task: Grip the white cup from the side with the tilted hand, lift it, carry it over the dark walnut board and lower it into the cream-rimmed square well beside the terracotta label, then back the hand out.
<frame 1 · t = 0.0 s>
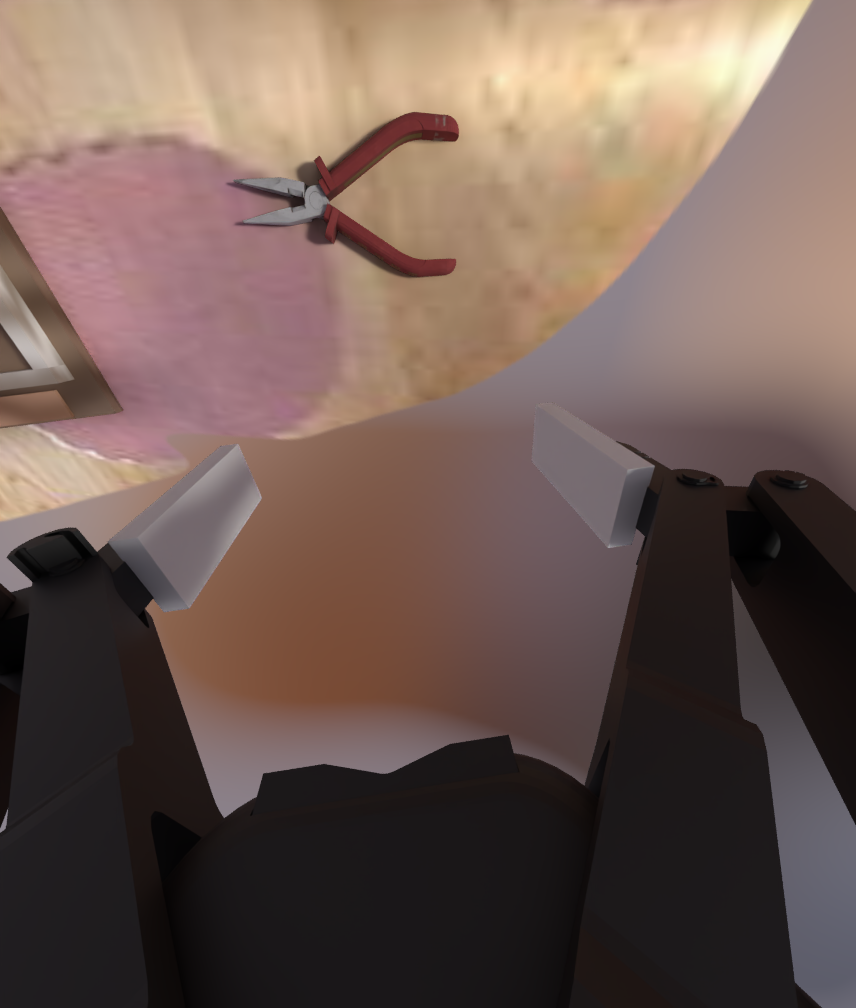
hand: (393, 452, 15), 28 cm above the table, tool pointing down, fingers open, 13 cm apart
pliers: (362, 186, 31), on the table
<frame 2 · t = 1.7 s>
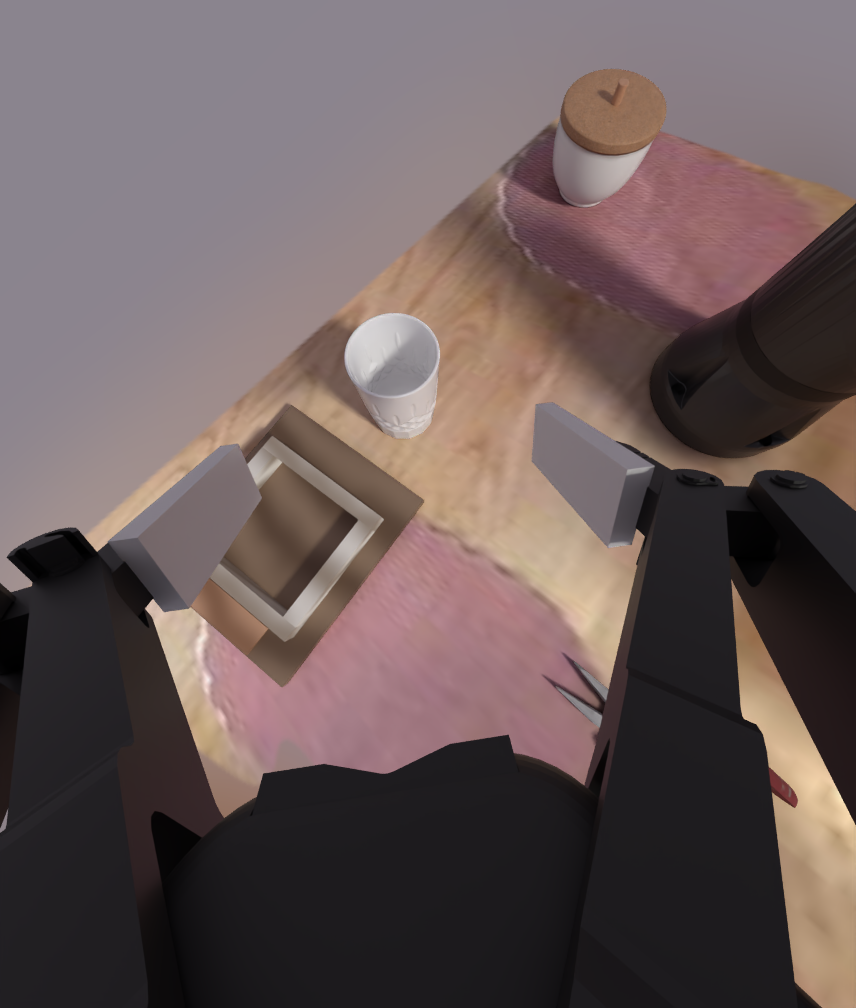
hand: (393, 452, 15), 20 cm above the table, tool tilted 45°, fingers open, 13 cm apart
pliers: (666, 743, 30), on the table
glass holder: (292, 535, 34), on the table
white cup: (404, 412, 37), on the table
lidded jar: (582, 190, 42), on the table
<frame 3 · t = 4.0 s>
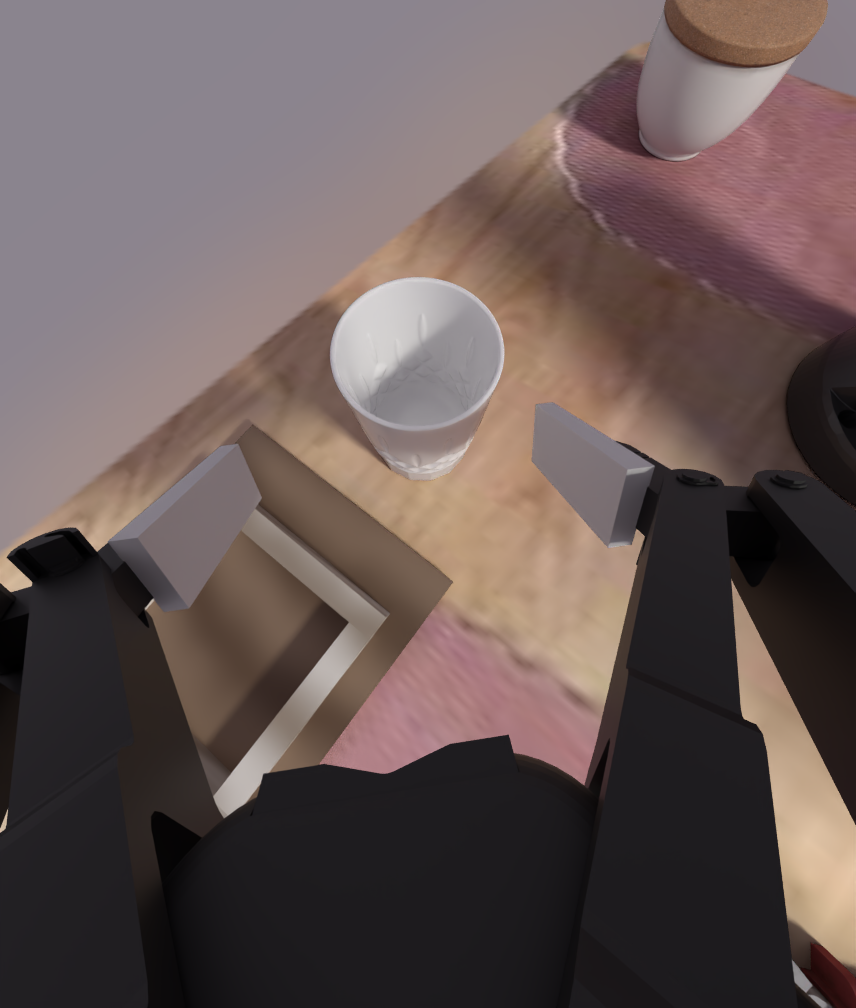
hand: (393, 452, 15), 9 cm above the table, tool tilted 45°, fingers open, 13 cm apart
pliers: (848, 1007, 18), on the table
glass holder: (244, 630, 22), on the table
white cup: (422, 439, 25), on the table
lidded jar: (669, 139, 31), on the table
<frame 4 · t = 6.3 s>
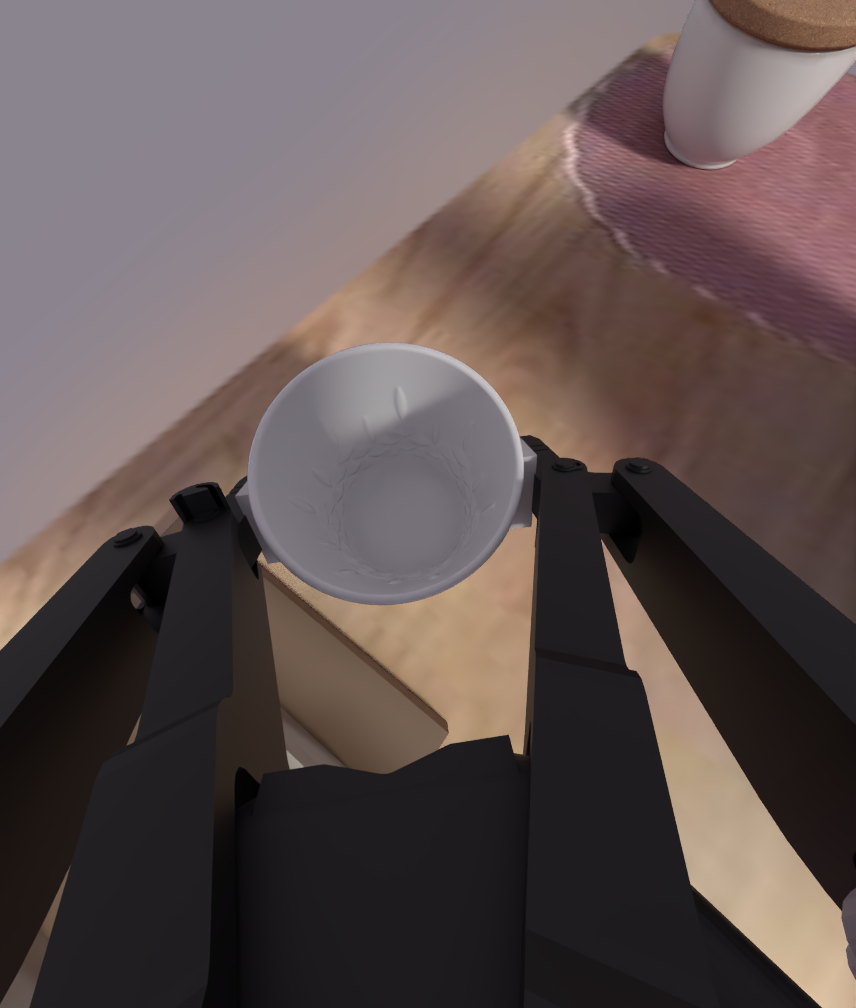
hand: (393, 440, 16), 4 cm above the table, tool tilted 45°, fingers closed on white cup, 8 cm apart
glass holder: (166, 799, 16), on the table
white cup: (407, 522, 19), on the table, touching gripper
lidded jar: (700, 144, 26), on the table
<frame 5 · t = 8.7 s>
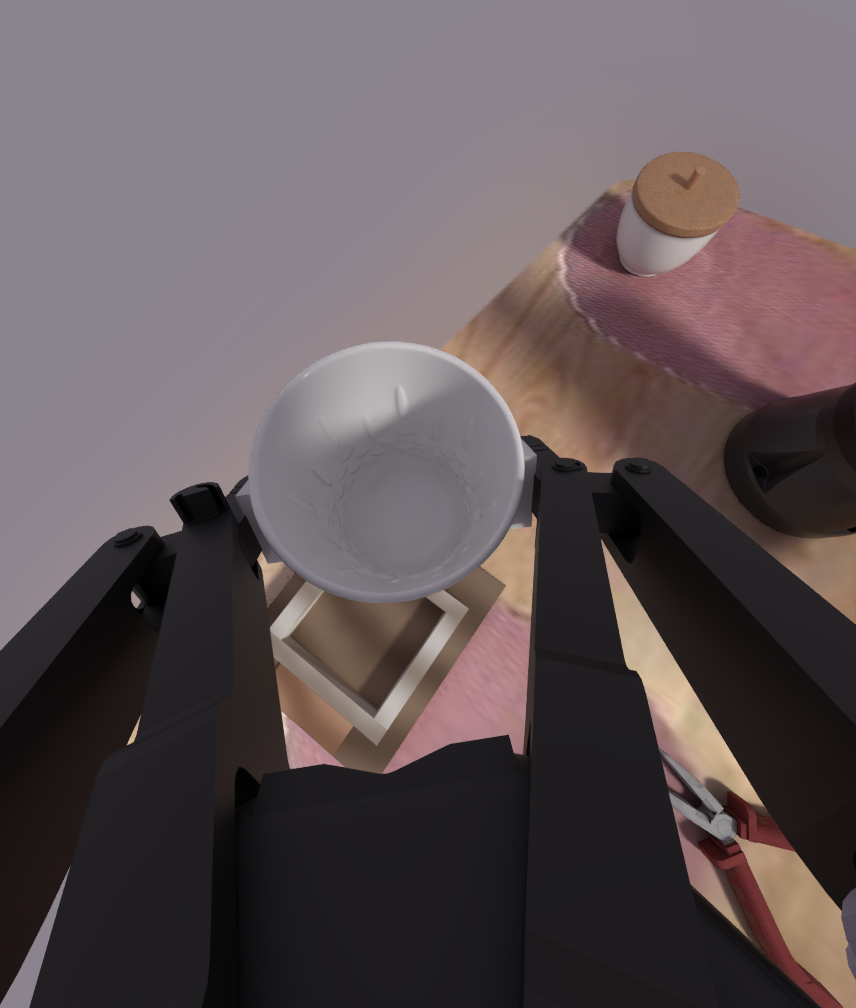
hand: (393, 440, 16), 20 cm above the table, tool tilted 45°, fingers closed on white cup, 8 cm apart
pliers: (752, 830, 30), on the table
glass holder: (370, 621, 33), on the table
white cup: (407, 521, 19), point 16 cm above the table, touching gripper
lidded jar: (642, 259, 42), on the table
when the fingers open (6 cm above the table, at t = 11.4 s): white cup stays where it is, resting on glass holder.
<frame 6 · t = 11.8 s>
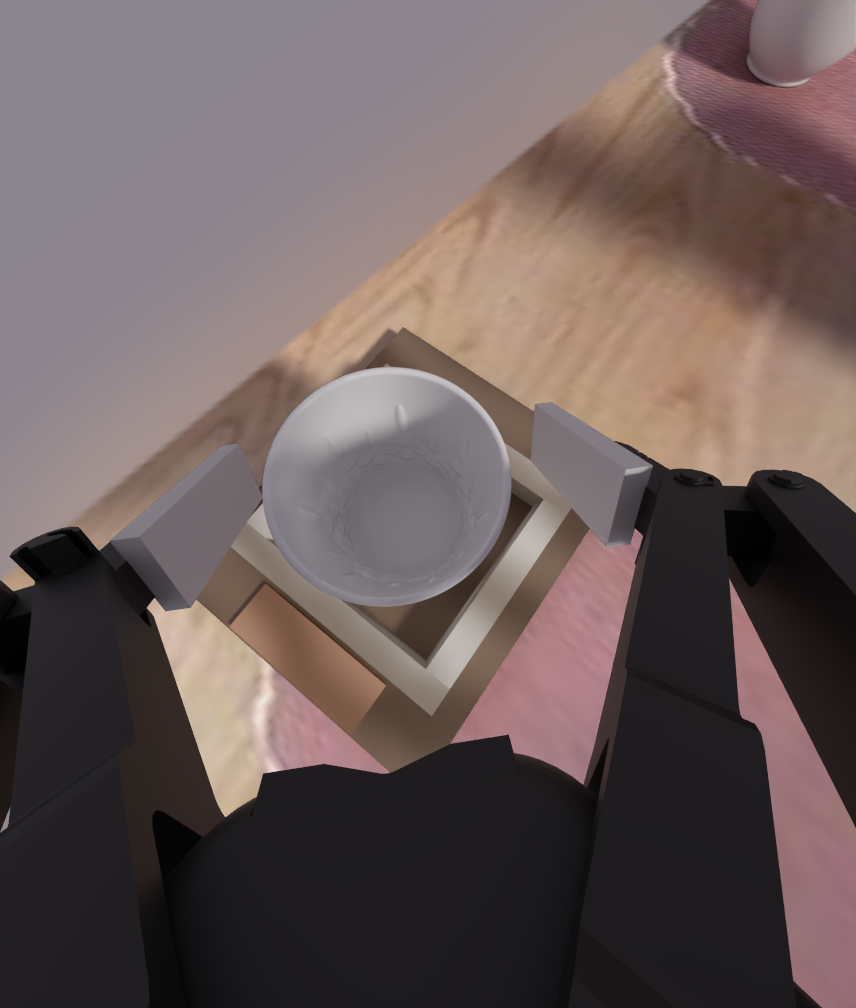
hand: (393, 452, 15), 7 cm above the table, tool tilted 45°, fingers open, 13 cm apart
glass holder: (409, 527, 21), on the table
white cup: (408, 525, 20), point 1 cm above the table, touching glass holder
lidded jar: (776, 69, 31), on the table
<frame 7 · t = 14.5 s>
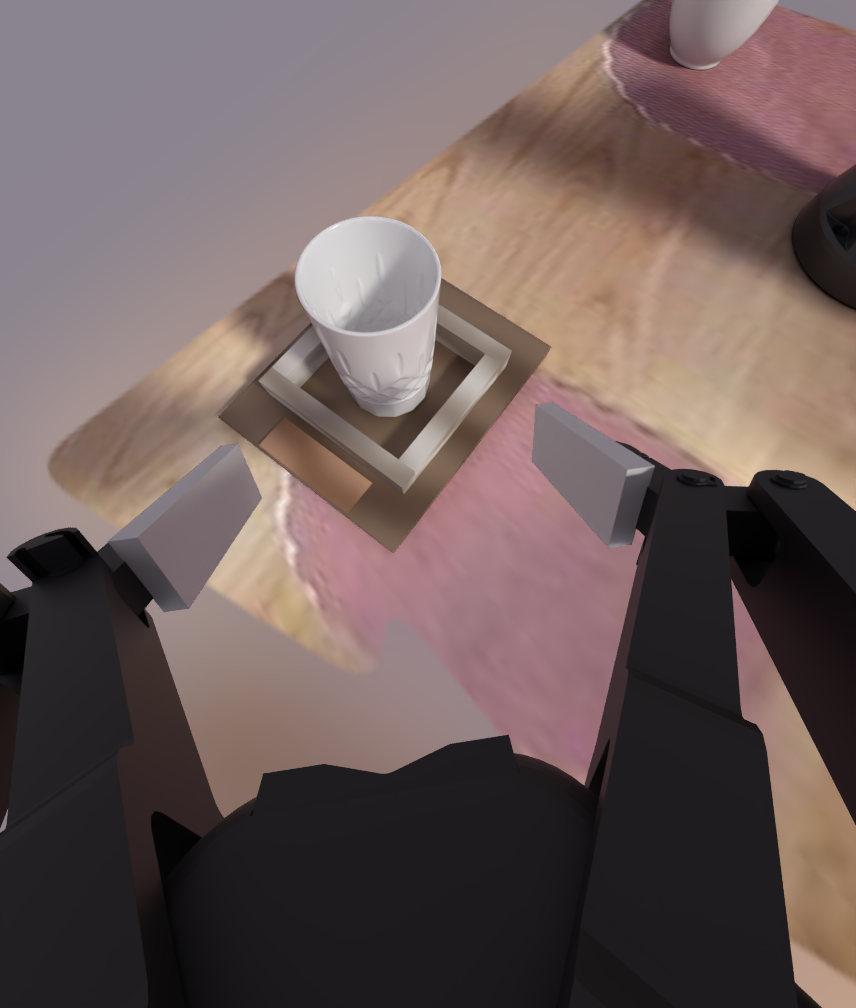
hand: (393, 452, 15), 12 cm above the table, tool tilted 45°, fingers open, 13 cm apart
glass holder: (391, 388, 28), on the table
white cup: (389, 382, 27), point 1 cm above the table, touching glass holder
lidded jar: (694, 55, 39), on the table
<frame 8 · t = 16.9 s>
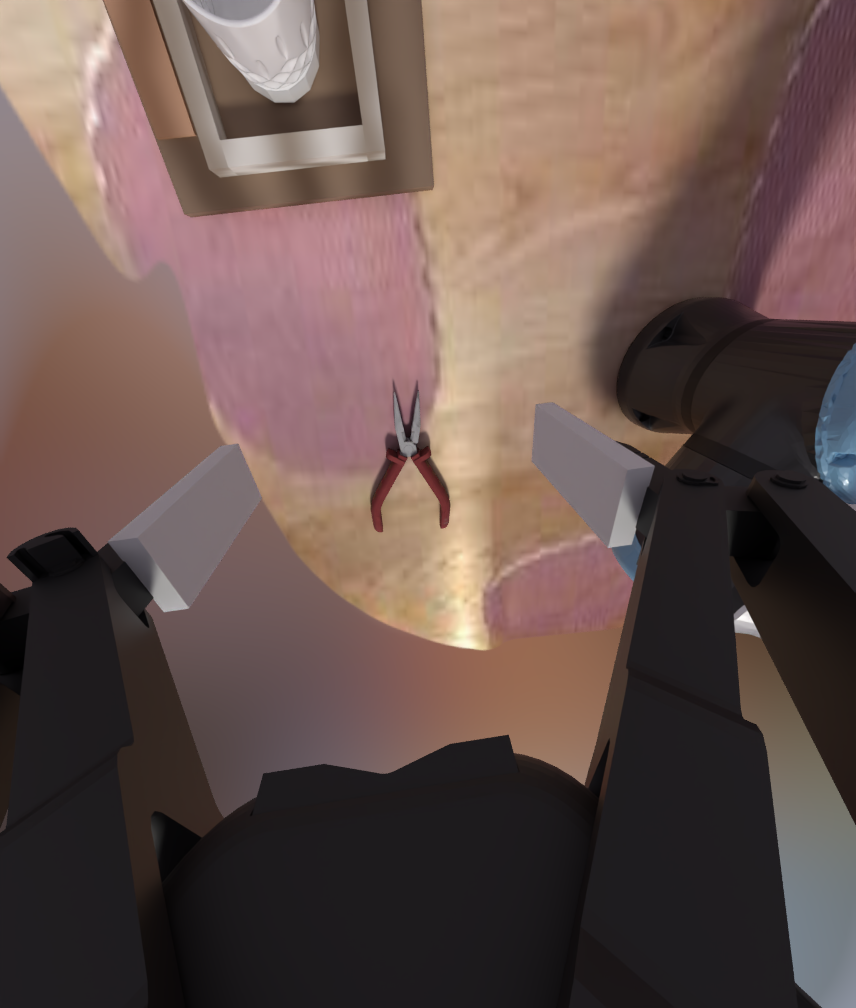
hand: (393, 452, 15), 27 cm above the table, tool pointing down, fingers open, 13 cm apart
pliers: (419, 470, 46), on the table
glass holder: (279, 46, 25), on the table
white cup: (274, 38, 24), point 1 cm above the table, touching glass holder
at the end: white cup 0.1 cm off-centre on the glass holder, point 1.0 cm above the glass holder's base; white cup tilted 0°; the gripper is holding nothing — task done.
